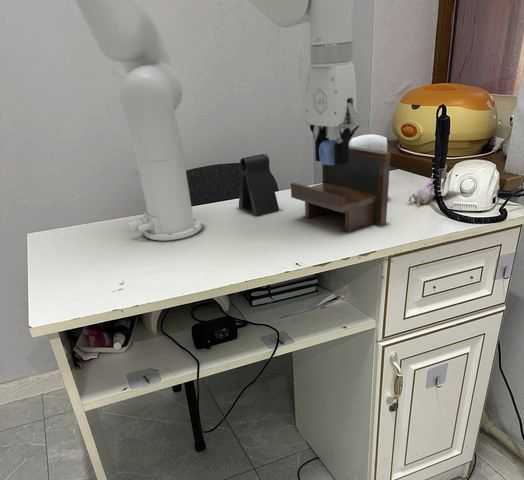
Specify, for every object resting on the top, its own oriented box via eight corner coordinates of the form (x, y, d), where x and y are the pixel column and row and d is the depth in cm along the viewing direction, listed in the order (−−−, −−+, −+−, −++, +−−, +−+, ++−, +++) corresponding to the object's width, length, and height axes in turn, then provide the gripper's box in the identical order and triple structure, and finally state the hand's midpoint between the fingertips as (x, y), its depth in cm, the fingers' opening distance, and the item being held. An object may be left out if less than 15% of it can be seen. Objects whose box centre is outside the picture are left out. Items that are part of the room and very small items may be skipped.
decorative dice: (326, 166, 96) (326, 144, 93) (318, 162, 99) (318, 141, 97) (345, 163, 96) (345, 141, 94) (336, 159, 100) (336, 138, 97)
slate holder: (344, 238, 96) (346, 163, 88) (288, 218, 109) (285, 151, 101) (386, 224, 101) (390, 152, 93) (327, 206, 114) (327, 142, 106)
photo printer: (381, 182, 128) (384, 131, 121) (387, 186, 124) (390, 134, 118) (343, 186, 127) (344, 135, 120) (348, 190, 123) (349, 138, 117)
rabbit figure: (424, 213, 108) (470, 188, 113) (423, 187, 105) (472, 163, 109) (403, 207, 113) (449, 184, 117) (402, 182, 109) (449, 159, 114)
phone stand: (279, 210, 114) (275, 156, 107) (256, 216, 112) (252, 161, 105) (259, 202, 121) (255, 151, 114) (238, 207, 118) (233, 155, 112)
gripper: (286, 59, 92) (291, 160, 102) (348, 57, 80) (346, 171, 90) (317, 55, 95) (318, 153, 105) (380, 52, 83) (376, 163, 93)
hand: (331, 160), depth 97 cm, fingers closed on decorative dice, 5 cm apart
